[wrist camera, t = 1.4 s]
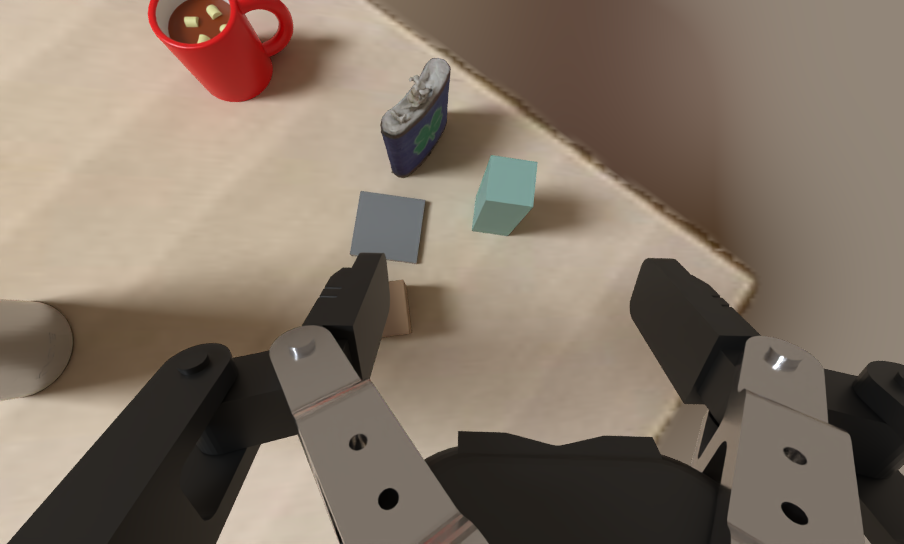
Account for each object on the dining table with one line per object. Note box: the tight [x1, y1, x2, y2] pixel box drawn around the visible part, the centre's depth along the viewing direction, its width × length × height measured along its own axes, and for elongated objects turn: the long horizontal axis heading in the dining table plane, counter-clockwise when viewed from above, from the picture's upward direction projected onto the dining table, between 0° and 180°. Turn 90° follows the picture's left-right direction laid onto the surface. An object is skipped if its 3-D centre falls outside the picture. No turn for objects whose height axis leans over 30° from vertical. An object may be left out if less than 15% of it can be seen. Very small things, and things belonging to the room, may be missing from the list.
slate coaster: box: [350, 191, 425, 264], centre depth 39 cm, size 7×7×1 cm
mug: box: [148, 0, 293, 102], centre depth 37 cm, size 8×12×8 cm, turn 121°
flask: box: [380, 58, 451, 178], centre depth 36 cm, size 9×3×11 cm, turn 145°
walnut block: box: [382, 280, 412, 337], centre depth 36 cm, size 5×5×5 cm
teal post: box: [472, 155, 537, 236], centre depth 36 cm, size 4×4×10 cm
